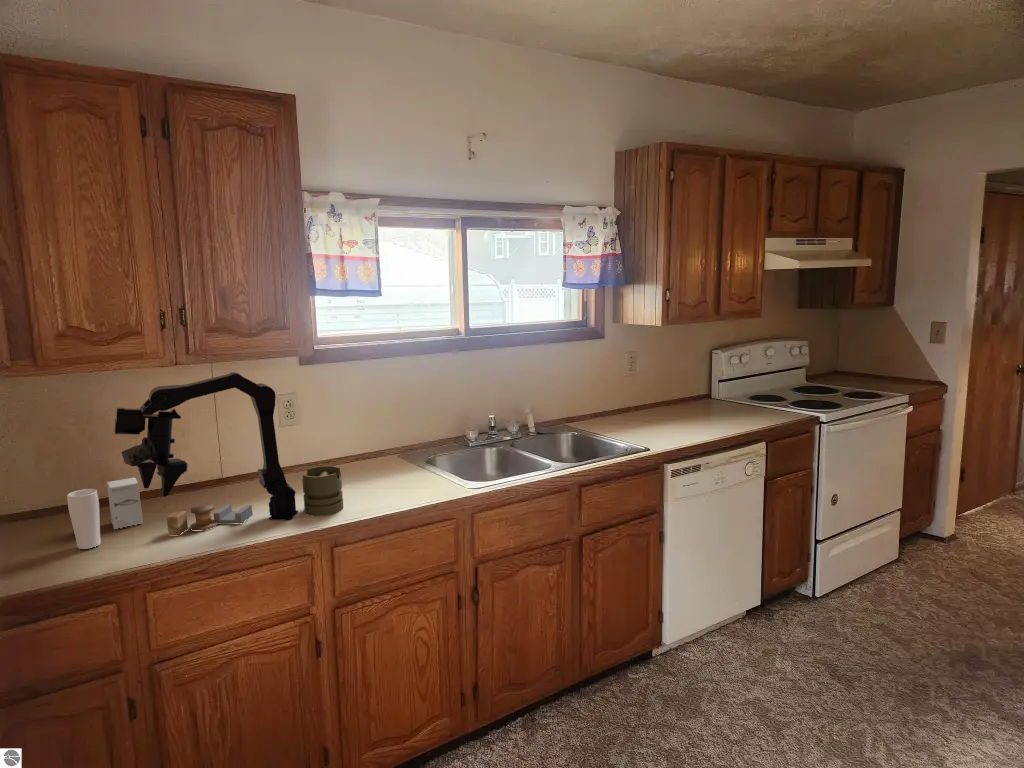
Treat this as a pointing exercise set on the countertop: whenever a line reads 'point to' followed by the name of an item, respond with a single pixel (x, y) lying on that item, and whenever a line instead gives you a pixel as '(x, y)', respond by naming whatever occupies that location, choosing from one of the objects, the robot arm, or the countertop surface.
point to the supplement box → (124, 503)
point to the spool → (203, 517)
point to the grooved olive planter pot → (322, 491)
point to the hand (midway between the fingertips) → (155, 492)
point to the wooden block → (177, 523)
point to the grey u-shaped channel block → (232, 514)
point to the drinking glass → (85, 517)
